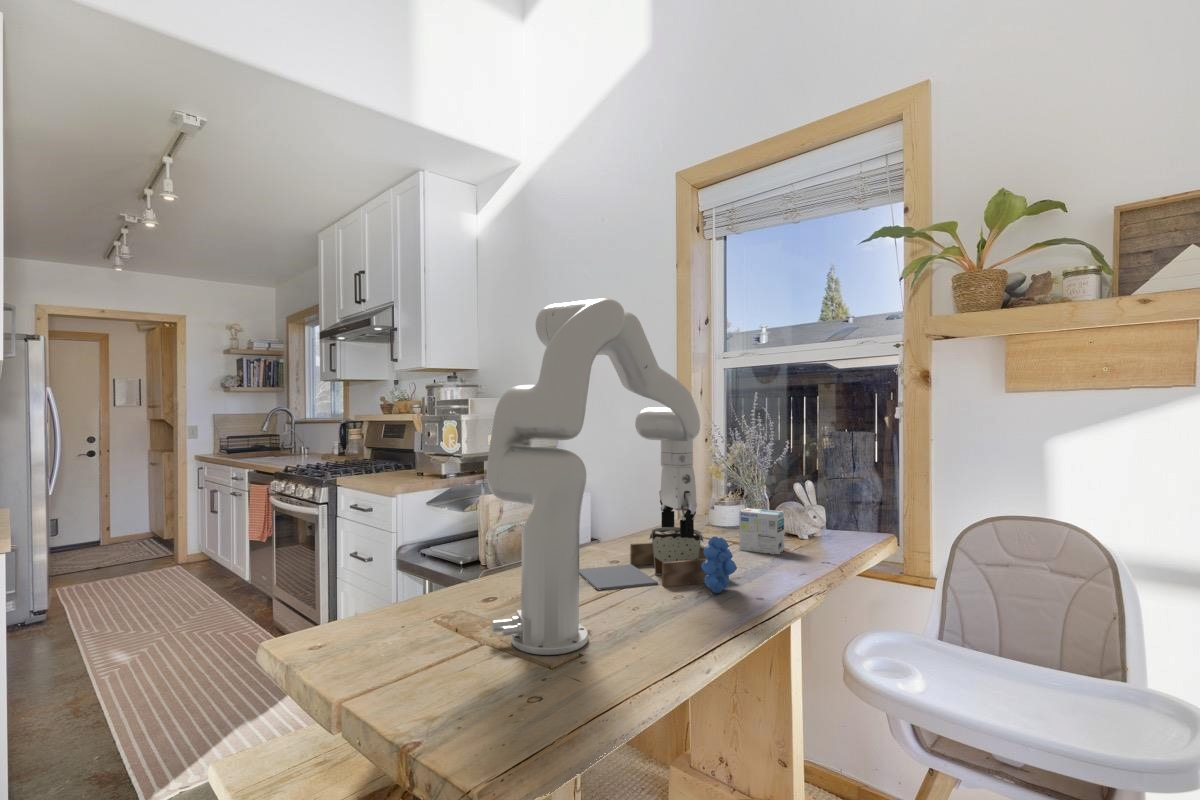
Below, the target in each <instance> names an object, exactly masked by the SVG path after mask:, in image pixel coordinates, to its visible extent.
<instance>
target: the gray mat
mask: <svg viewBox="0 0 1200 800" xmlns="http://www.w3.org/2000/svg"><path fill="white" fill-rule="evenodd" d="M579 574H580V575H579V576H581V578H583V579H584V578H585V579H586V580H587V581H588V582H589V583H590V584H591V587H593V588H594V587H595V588H596V589H597V590H598V591H600V590H599V589H608V590H615V589H614V588H617V589H625V588H634V587H636V586H637V587H644V586H645V587H646V586H655V585H656V586H657V585H658V584H659V582H658V581H657V580H655V579H654V578H652V577H651V576H650V575H648V574H647V573H645V572H644V571H642V570H641V569H639V568H638V567H636V565H631V564H623V565H610V566H609V565H608V566H600V567H599V566H598V567H590V568H589V567H588V568H579ZM585 579H584V580H585ZM586 580H585V581H586ZM587 581H586V582H587ZM588 582H587V583H588ZM589 583H588V584H589ZM590 584H589V585H590ZM595 588H594V589H595ZM596 589H595V590H596ZM597 590H596V591H597Z"/></svg>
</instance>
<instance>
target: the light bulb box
mask: <svg viewBox="0 0 1200 800" xmlns="http://www.w3.org/2000/svg"><path fill="white" fill-rule="evenodd" d="M738 518H739V522H738V523H739V528H738V529H739V547H738V548H739V550H740V551H745V552H746V551H747V552H751V553H752V552H753V553H759V554H760V553H761V554H767V553H770V554H769V555H774V554H778V555H779V553H780V552H781V551H782V552H784V551H785V511H783V510H771V509H770V510H769V509H761V508H752V507H751V508H750V507H746V508H744V509H741V510H739V517H738ZM783 550H784V551H783ZM782 552H781V553H782ZM781 553H780V554H781Z"/></svg>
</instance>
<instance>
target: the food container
mask: <svg viewBox="0 0 1200 800" xmlns="http://www.w3.org/2000/svg"><path fill="white" fill-rule="evenodd" d="M648 540H651V541H652V543H653V554H654V563H653V565H654V574H655V575H656V576H662V562H672V561H683V560H694V559H699V550H700V545H701V541H702V542H704V538H703V534H702V532H701V531H700V530H697V529H695V528H694V536H693V537H686V538H681V537H680V526H679V527H678V526H674V527H662V526H661V527H655V528H653V529H651V532H650V535H649V539H648Z"/></svg>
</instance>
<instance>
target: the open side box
mask: <svg viewBox="0 0 1200 800" xmlns="http://www.w3.org/2000/svg"><path fill="white" fill-rule="evenodd" d="M705 547H706V546H704V545H702V544H700V550H699V559H694V560H683V561H672V562H662V575H661V586H662V587H664V588H665V587H667V588H668V587H675V586H686V585H695V584H705V581H704V578H705V576H706V575H707V574H705V573H704V571H703V570H702V567H701V565H702V563H703V562H704V561H706V560H708V559H707V558H706V557H705V556H704V553H703V550H704V548H705ZM629 555H630V563H629V565H633V566H639V565H650V564H651V565H652V564H653V565H654V554H653V543H652V542H637V543H630V554H629ZM727 578H728V580H729V581H730V575H729V576H727Z"/></svg>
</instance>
